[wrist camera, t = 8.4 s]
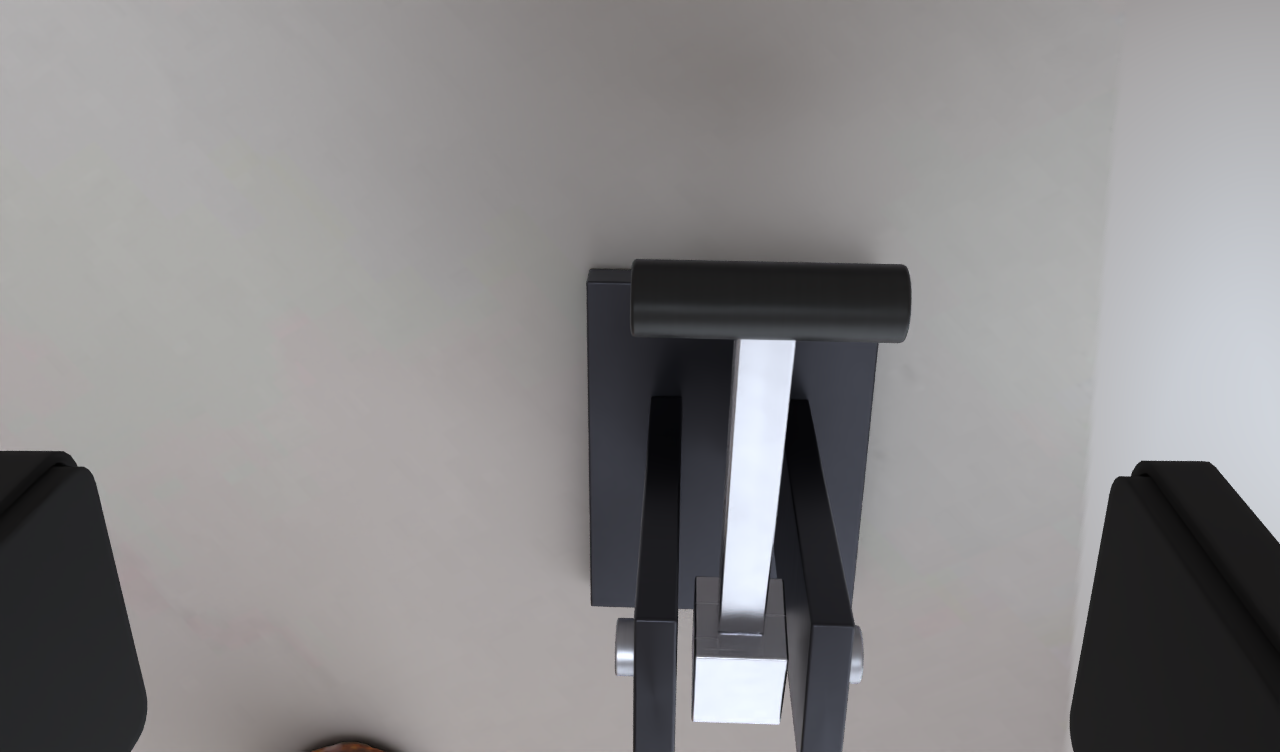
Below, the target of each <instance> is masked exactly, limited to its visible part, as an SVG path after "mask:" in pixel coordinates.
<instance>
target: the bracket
mask: <svg viewBox="0 0 1280 752" xmlns="http://www.w3.org/2000/svg"><path fill="white" fill-rule="evenodd" d="M631 271H632V270H613V269H590V271H589V274H588V279H587V283H586V286H587V360H588V433H589V507H590V581H591V606H603V607H635V611H634V618H618V620H617V625H616V641H615V674H616V675H617V676H634V680H633V752H675V715H676V675H677V635H678V609H694V586H695V578H696V577H697V576H706V577H719V568H720V552H721V536H722V520H723V504H724V488H725V473H726V457H727V441H728V425H729V409H730V393H731V377H732V362H733V346H734V339H695V338H650V337H634V336H632V334H631V327H630V294H631ZM877 352H878V343H874V342H829V341H796V348H795V357H794V366H793V375H792V384H791V393H790V402H789V411H788V420H787V430H786V439H785V448H784V457H783V466H782V475H781V484H780V493H779V502H778V511H777V520H776V529H775V538H774V547H773V556H772V565H771V575H770V578H773V579H783V581H784V589H785V605H786V621H787V637H788V653H789V663H788V670H787V671H788V679H789V688H790V697H791V706H792V715H793V723H794V732H795V741H796V750H797V752H842V749H843V739H844V730H845V720H846V710H847V701H848V691H849V683H854V684H858V683H860V681H861V679H862V674H863V662H864V651H863V638H862V632H861V629H860V627H859V626H857V625H855V623H854V618H853V613H852V599H853V590H854V580H855V570H856V560H857V550H858V540H859V530H860V520H861V511H862V501H863V491H864V481H865V471H866V461H867V451H868V441H869V431H870V422H871V412H872V402H873V392H874V382H875V372H876V362H877Z"/></svg>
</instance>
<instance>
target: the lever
mask: <svg viewBox="0 0 1280 752" xmlns="http://www.w3.org/2000/svg"><path fill="white" fill-rule="evenodd" d="M910 316H911V281H910V275H909V272H908V269H907V267H906V266H905V265H902V264H858V263H808V262H758V261H708V260H658V259H636V260H634V261H633V263H632V271H631V294H630V327H631V334H632V336H634V337H650V338H695V339H734V346H733V362H732V377H731V393H730V409H729V425H728V441H727V457H726V473H725V488H724V504H723V520H722V536H721V552H720V568H719V577H706V576H697V577H696V578H695V586H694V610H693V635H692V710H691V719H692V721H693V722H715V723H745V724H774V725H778V724H780V721H781V713H782V706H783V699H784V692H785V684H786V677H787V670H788V663H789V653H788V637H787V621H786V605H785V589H784V581H783V579H773V578H770V575H771V565H772V556H773V547H774V538H775V529H776V520H777V511H778V502H779V493H780V484H781V475H782V466H783V457H784V448H785V439H786V430H787V420H788V411H789V402H790V393H791V384H792V375H793V366H794V357H795V348H796V341H829V342H874V343H901V342H903V341H904V340H905V338H906V335H907V333H908V329H909V324H910Z"/></svg>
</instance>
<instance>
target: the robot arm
mask: <svg viewBox="0 0 1280 752" xmlns="http://www.w3.org/2000/svg"><path fill="white" fill-rule="evenodd" d="M146 715H147V696H146V691H145V686H144V682H143V678H142V674H141V670H140V666H139V661H138V657H137V653H136V649H135V645H134V640H133V636H132V632H131V628H130V624H129V620H128V615H127V611H126V607H125V603H124V599H123V594H122V590H121V586H120V582H119V578H118V574H117V569H116V565H115V561H114V557H113V553H112V549H111V544H110V540H109V536H108V532H107V528H106V523H105V519H104V515H103V511H102V507H101V503H100V498H99V494H98V490H97V486H96V482H95V480H94V477H93V475H92V473H91V472H90V471H89V470H88V469H87V468H85V467H77V464H76V462H75V461H74V460H73V458H72V457H71V455H69V454H67V453H65V452H64V451H0V752H131V750H132V749H133V747H134V746H135V744H136V742H137V741H138V739H139V737H140V735H141V733H142V731H143V728H144V725H145V721H146ZM1070 736H1071V742H1072V747H1073V751H1074V752H1280V544H1279V542H1278V541H1277V540H1276V539H1275V538H1274V536H1273V535H1272V534H1271V533H1270V532H1269V530H1268V529H1267V528H1266V527H1265V526H1264V524H1263V523H1262V522H1261V521H1260V520H1259V518H1258V517H1257V516H1256V515H1255V514H1254V512H1253V511H1252V510H1251V509H1250V508H1249V507H1248V506H1247V504H1246V503H1245V502H1244V501H1243V499H1242V498H1241V497H1240V496H1239V495H1238V494H1237V492H1236V491H1235V490H1234V489H1233V487H1232V486H1231V485H1230V484H1229V483H1228V481H1227V480H1226V479H1225V478H1224V477H1223V475H1222V474H1221V473H1220V472H1219V471H1218V470H1217V468H1216V467H1215V466H1213V465H1212V464H1211V463H1210V462H1205V461H1141V462H1139V463H1138V464H1137V465H1136V466H1135V468H1134V470H1133V472H1132V474H1131V477H1124V476H1119V477H1118V478H1116V479H1115V480H1114V482H1113V484H1112V487H1111V490H1110V494H1109V500H1108V505H1107V511H1106V517H1105V522H1104V528H1103V533H1102V539H1101V544H1100V550H1099V555H1098V561H1097V567H1096V572H1095V578H1094V583H1093V589H1092V594H1091V600H1090V605H1089V611H1088V617H1087V622H1086V627H1085V633H1084V639H1083V644H1082V650H1081V655H1080V661H1079V666H1078V672H1077V677H1076V683H1075V688H1074V694H1073V700H1072V705H1071V711H1070Z"/></svg>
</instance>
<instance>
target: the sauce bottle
mask: <svg viewBox="0 0 1280 752" xmlns="http://www.w3.org/2000/svg"><path fill="white" fill-rule="evenodd" d="M311 752H385V751H383V750H380V749H378V748H372V747H370V746H369V745H367V744H363V743H358V742H341V743H338V744H335V745H333V746H326V747H323V748H320V749H317V750H313V751H311Z"/></svg>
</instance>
